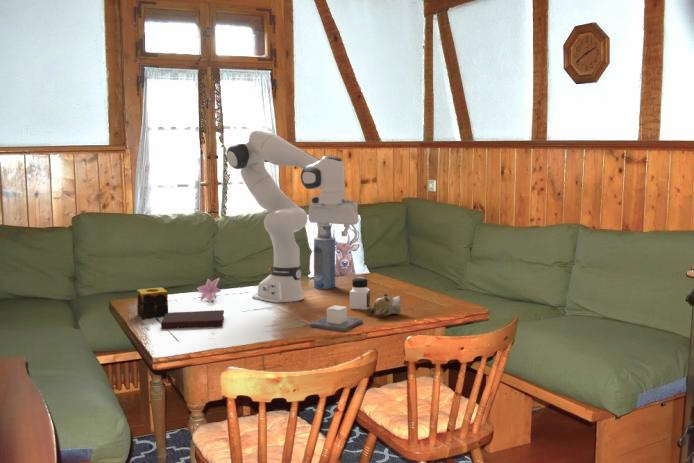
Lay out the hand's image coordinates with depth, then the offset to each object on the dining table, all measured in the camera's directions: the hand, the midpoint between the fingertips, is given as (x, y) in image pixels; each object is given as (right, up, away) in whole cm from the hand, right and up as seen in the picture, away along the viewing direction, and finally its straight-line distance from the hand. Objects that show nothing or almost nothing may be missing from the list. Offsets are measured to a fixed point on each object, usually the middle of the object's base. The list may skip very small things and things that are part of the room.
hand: (333, 235), depth 265 cm
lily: (-53, -28, +32) cm, 68 cm away
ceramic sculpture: (+20, -31, +3) cm, 37 cm away
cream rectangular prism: (+1, -32, -11) cm, 33 cm away
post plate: (+1, -33, -10) cm, 34 cm away
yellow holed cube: (-70, -31, +5) cm, 77 cm away
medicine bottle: (+10, -30, +16) cm, 35 cm away
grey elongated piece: (-5, -24, +56) cm, 62 cm away
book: (-52, -33, -7) cm, 62 cm away
